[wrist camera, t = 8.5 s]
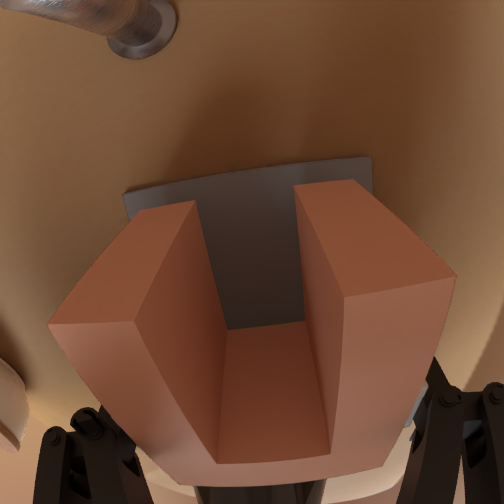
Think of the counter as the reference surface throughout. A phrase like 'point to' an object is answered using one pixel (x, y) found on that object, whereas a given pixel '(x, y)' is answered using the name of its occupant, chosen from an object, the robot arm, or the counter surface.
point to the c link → (261, 344)
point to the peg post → (111, 21)
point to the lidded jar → (12, 408)
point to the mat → (253, 232)
